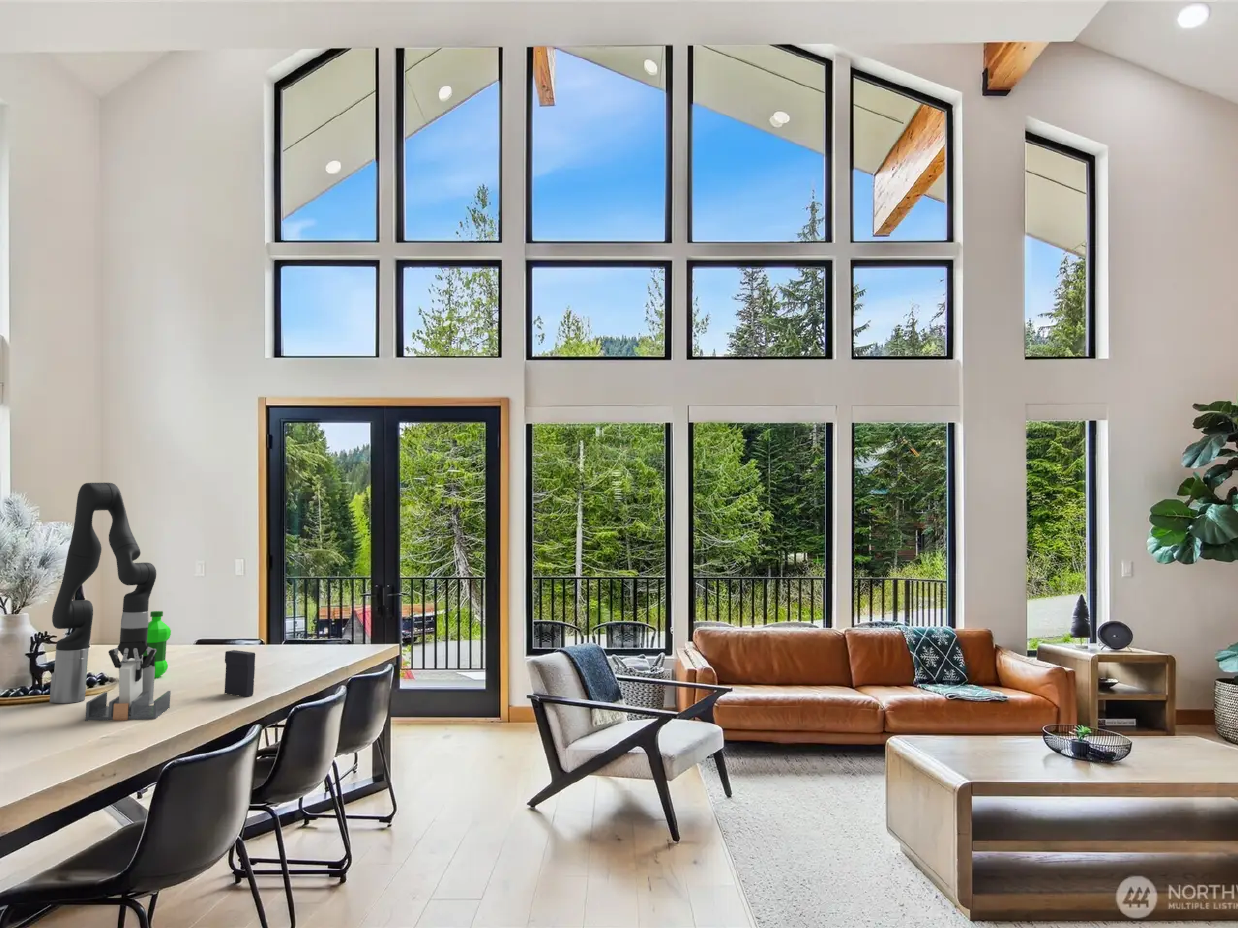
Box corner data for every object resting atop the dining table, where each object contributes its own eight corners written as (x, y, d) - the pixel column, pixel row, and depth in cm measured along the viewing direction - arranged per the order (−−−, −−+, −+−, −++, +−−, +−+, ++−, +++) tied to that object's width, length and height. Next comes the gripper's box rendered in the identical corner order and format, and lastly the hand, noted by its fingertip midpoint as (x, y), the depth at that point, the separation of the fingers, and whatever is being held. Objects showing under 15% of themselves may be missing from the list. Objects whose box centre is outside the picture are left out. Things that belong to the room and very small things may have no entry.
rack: (84, 721, 252) (85, 702, 252) (103, 709, 267) (104, 692, 267) (155, 719, 256) (156, 701, 257) (169, 707, 271) (170, 690, 272)
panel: (119, 706, 257) (119, 668, 256) (132, 691, 269) (132, 655, 268) (129, 706, 258) (129, 668, 257) (142, 691, 269) (142, 655, 268)
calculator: (255, 695, 294) (257, 652, 295) (244, 697, 290) (247, 653, 291) (232, 691, 298) (235, 649, 299) (222, 693, 294) (225, 651, 295)
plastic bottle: (164, 673, 328) (168, 609, 330) (170, 677, 320) (174, 612, 322) (135, 675, 322) (139, 610, 324) (140, 680, 314) (144, 613, 315)
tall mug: (138, 707, 272) (141, 660, 273) (105, 702, 276) (108, 657, 277) (160, 701, 280) (163, 656, 281) (128, 697, 284) (131, 653, 285)
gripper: (105, 627, 259) (101, 684, 257) (155, 627, 262) (151, 682, 261) (114, 624, 266) (110, 679, 265) (162, 624, 269) (158, 678, 268)
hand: (131, 680), depth 263 cm, fingers closed on panel, 3 cm apart
